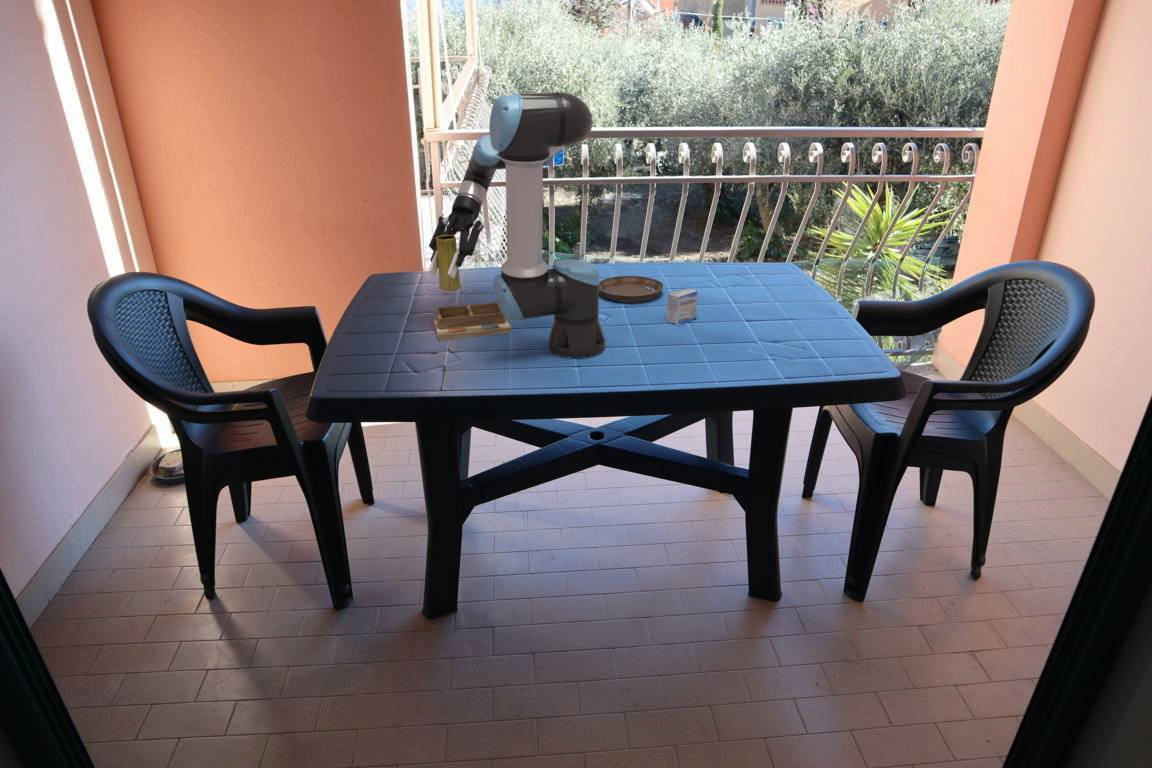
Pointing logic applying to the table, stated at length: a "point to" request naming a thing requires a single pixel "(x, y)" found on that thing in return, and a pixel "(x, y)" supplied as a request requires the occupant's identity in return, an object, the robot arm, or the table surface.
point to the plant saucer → (630, 288)
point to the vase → (447, 262)
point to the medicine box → (682, 306)
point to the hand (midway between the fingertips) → (441, 274)
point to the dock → (470, 321)
